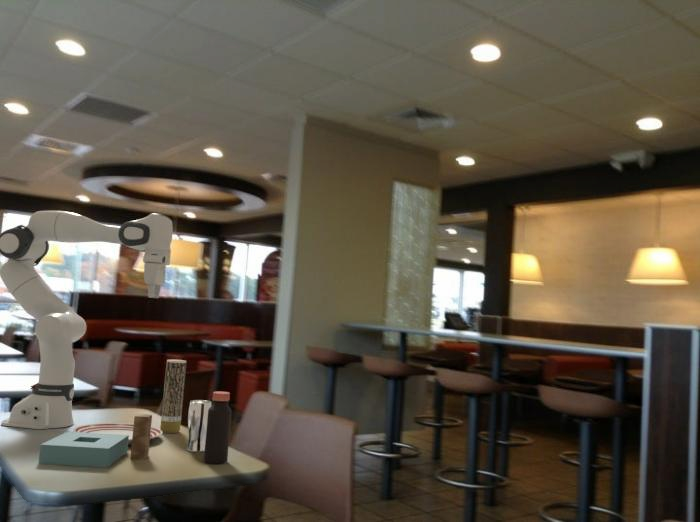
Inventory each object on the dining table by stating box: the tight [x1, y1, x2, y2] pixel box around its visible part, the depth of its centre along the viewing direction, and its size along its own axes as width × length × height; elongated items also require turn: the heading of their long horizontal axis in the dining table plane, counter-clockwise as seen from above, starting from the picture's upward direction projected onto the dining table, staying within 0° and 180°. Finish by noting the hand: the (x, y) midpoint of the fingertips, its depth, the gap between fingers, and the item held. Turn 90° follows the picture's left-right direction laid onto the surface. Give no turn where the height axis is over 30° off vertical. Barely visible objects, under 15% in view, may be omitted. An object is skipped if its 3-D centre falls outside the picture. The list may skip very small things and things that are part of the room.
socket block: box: [38, 431, 129, 468], centre depth 174 cm, size 18×18×5 cm
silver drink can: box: [186, 399, 212, 453], centre depth 193 cm, size 7×7×15 cm
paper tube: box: [159, 359, 187, 434], centre depth 217 cm, size 7×7×25 cm
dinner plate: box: [72, 422, 164, 446], centre depth 200 cm, size 27×27×3 cm
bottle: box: [203, 390, 233, 465], centre depth 180 cm, size 7×7×20 cm
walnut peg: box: [130, 413, 153, 460], centre depth 179 cm, size 4×4×12 cm
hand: (153, 297), depth 217 cm, fingers open, 8 cm apart
